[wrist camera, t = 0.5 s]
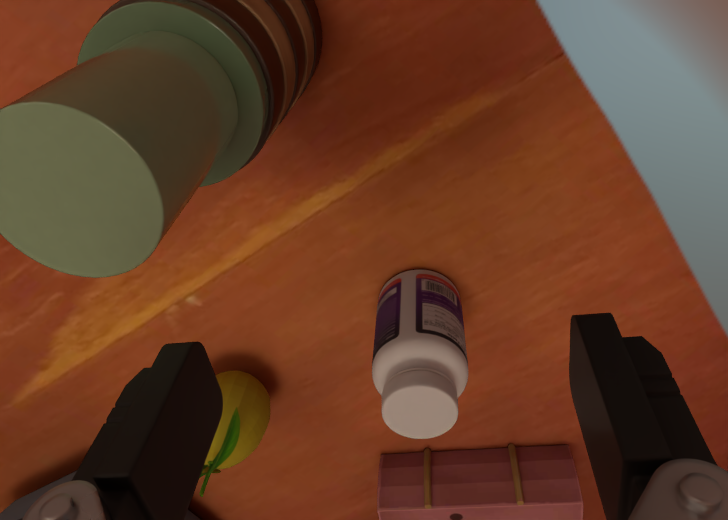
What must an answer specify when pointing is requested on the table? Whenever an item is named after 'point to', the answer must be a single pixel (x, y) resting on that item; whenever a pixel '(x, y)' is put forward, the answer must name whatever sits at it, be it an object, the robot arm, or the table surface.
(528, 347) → the table surface
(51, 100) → the ring spool
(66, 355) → the table surface
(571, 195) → the table surface
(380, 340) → the pill bottle
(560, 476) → the book
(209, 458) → the lemon
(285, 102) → the stack
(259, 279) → the table surface
